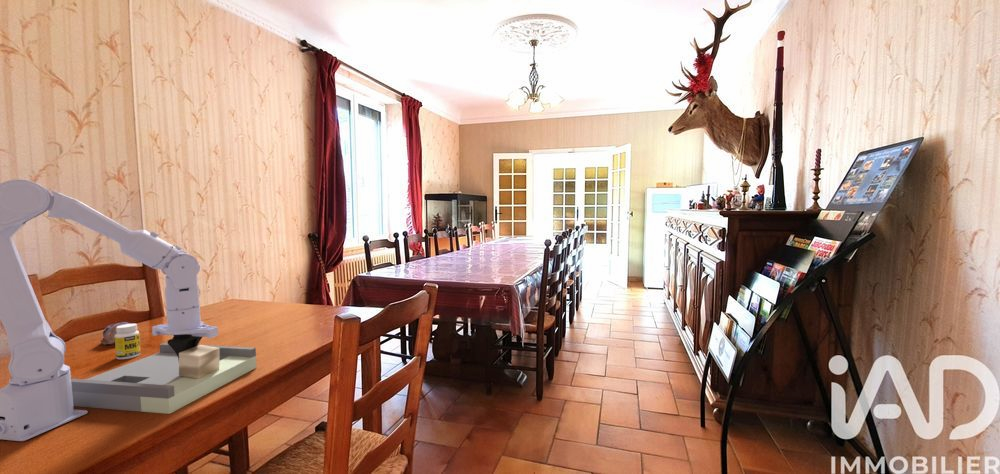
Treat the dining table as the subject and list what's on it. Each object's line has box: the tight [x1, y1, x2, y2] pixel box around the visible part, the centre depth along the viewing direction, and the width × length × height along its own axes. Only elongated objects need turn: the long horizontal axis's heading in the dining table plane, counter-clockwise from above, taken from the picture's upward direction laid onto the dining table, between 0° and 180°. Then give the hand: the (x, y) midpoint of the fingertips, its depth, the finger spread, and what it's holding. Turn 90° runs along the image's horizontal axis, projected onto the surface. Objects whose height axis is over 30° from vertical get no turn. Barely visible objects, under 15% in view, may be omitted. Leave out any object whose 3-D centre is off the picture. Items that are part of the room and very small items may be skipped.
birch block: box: [179, 344, 220, 379], centre depth 86 cm, size 5×5×5 cm
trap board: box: [71, 342, 257, 415], centre depth 88 cm, size 22×26×5 cm
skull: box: [100, 321, 131, 345], centre depth 117 cm, size 12×8×6 cm, turn 43°
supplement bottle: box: [114, 323, 142, 360], centre depth 104 cm, size 5×5×8 cm
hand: (187, 367), depth 87 cm, fingers closed, pressing on birch block
